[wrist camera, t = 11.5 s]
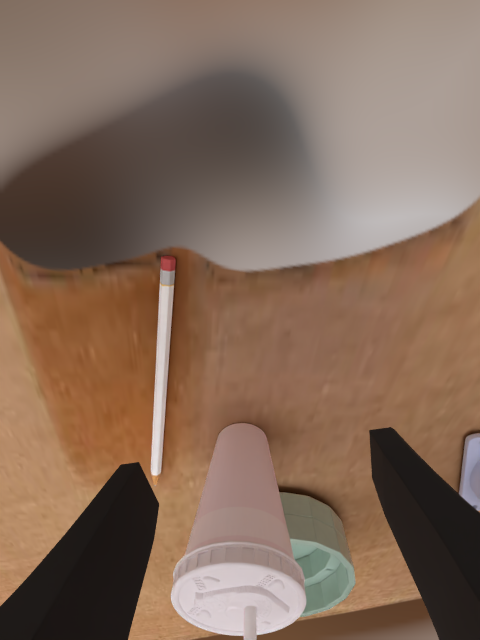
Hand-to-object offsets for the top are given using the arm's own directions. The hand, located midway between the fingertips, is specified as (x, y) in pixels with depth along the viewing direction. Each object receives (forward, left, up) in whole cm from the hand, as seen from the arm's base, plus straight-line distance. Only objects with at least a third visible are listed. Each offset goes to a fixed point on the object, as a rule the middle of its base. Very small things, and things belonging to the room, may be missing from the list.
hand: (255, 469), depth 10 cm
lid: (+2, +20, -10) cm, 22 cm away
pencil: (+7, +4, -11) cm, 13 cm away
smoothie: (+3, +9, -11) cm, 14 cm away
